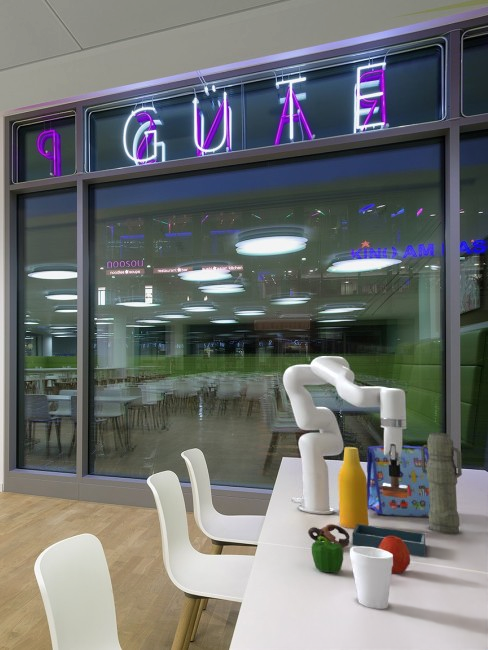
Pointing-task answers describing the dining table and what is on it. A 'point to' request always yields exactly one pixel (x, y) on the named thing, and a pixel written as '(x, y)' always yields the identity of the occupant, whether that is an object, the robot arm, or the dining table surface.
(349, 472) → the beer bottle
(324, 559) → the bell pepper
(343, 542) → the brown twisted loop
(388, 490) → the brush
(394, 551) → the apple
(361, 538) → the tray
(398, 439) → the robot arm
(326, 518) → the dining table surface
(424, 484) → the lunch bag
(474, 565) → the dining table surface
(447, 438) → the thermos
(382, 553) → the foam cup
